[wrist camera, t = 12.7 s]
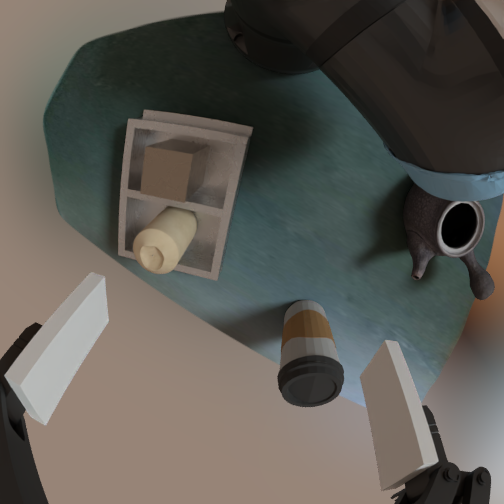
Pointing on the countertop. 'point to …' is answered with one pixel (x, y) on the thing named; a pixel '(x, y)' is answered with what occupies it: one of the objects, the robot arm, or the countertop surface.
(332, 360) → the coffee cup
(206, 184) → the divided tray
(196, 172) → the block
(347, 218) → the countertop surface
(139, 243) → the candle
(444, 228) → the teapot
